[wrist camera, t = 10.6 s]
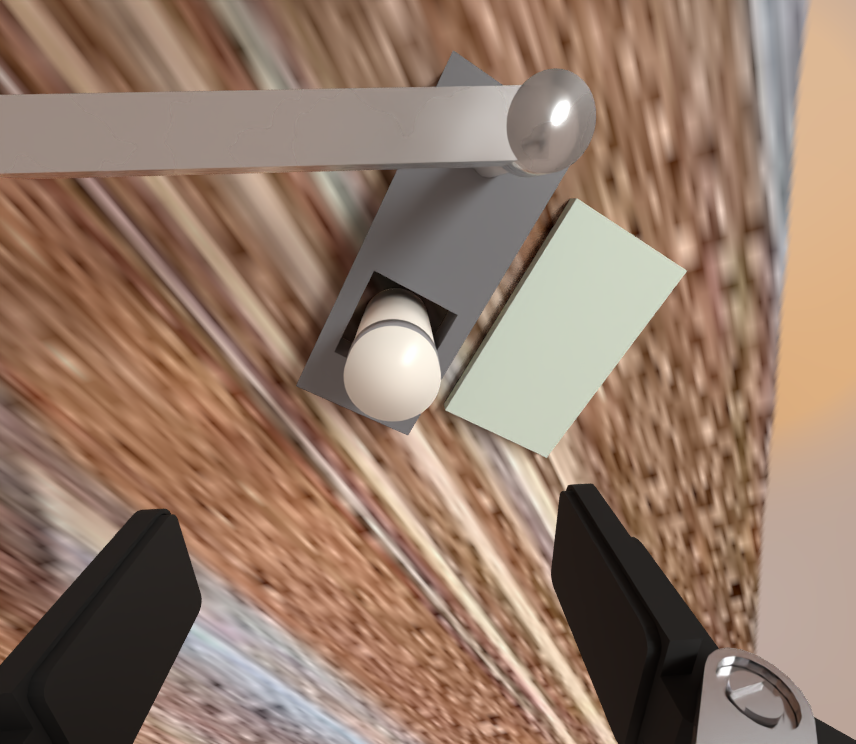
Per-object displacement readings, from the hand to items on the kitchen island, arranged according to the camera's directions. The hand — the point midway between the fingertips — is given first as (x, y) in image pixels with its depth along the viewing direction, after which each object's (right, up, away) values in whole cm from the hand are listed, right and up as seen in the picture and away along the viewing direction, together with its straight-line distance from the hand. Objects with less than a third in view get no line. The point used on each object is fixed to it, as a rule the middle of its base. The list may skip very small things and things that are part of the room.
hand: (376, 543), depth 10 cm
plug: (-1, +8, +18) cm, 19 cm away
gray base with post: (+1, +11, +16) cm, 20 cm away
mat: (+10, +6, +19) cm, 22 cm away
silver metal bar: (-3, +13, +4) cm, 14 cm away
